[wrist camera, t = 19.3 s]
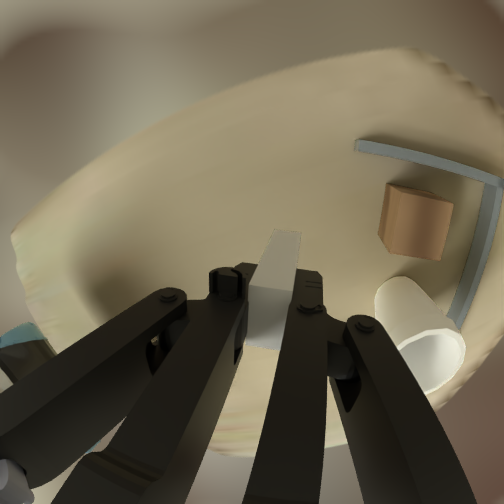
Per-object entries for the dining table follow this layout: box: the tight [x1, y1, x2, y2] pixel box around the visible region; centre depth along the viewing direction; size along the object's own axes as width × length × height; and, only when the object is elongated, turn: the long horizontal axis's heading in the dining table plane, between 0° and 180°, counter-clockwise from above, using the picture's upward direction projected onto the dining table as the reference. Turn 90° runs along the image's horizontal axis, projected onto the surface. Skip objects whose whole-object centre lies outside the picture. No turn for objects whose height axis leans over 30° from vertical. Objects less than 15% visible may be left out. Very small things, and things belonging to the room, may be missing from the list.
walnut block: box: [378, 183, 454, 261], centre depth 25 cm, size 6×6×6 cm
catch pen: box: [354, 139, 504, 330], centre depth 28 cm, size 19×26×3 cm
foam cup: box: [374, 276, 466, 395], centre depth 26 cm, size 10×9×13 cm
